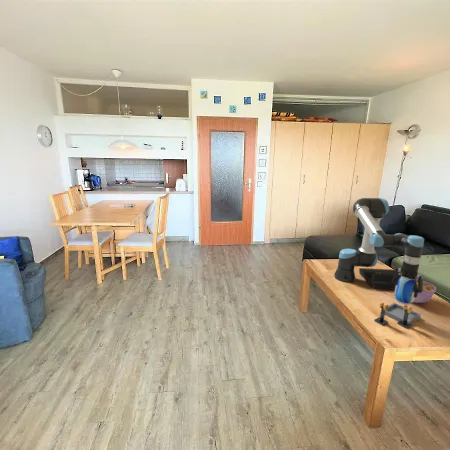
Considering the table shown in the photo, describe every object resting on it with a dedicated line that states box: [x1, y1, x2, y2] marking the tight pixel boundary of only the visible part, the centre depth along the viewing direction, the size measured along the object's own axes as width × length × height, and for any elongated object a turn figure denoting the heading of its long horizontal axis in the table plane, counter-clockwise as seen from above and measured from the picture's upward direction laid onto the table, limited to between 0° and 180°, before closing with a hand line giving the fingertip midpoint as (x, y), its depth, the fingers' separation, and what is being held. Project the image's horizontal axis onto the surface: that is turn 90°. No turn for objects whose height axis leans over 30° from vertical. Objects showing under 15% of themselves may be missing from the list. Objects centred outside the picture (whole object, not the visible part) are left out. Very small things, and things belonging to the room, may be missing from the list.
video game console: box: [358, 267, 402, 290], centre depth 196 cm, size 28×25×10 cm
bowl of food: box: [413, 278, 437, 304], centre depth 171 cm, size 20×20×12 cm
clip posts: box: [374, 302, 413, 330], centre depth 145 cm, size 13×14×11 cm
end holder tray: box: [384, 302, 422, 324], centre depth 154 cm, size 15×15×2 cm
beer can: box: [394, 276, 416, 306], centre depth 150 cm, size 8×8×16 cm
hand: (403, 298), depth 152 cm, fingers closed on beer can, 8 cm apart
